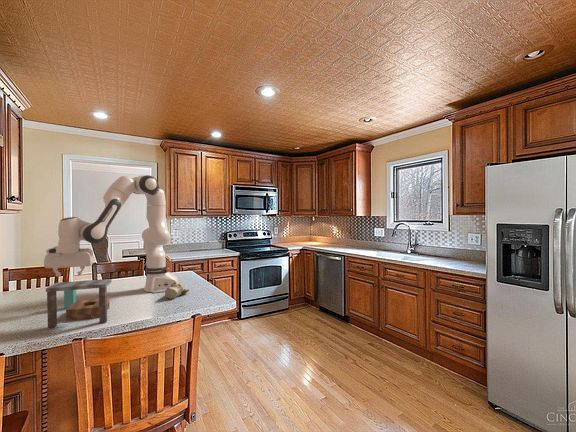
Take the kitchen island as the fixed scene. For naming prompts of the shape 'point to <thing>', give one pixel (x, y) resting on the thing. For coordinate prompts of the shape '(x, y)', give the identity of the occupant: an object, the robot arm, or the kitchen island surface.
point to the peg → (69, 298)
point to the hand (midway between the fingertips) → (69, 275)
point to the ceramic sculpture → (175, 291)
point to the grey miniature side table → (79, 308)
